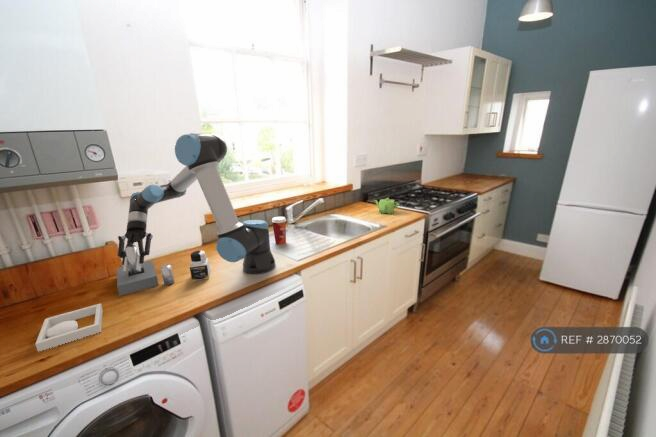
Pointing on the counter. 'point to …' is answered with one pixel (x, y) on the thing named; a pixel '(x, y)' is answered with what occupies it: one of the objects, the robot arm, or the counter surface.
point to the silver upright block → (167, 274)
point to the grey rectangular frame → (47, 343)
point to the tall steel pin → (132, 259)
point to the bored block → (136, 279)
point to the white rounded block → (62, 328)
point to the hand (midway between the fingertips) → (132, 271)
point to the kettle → (386, 206)
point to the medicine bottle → (199, 266)
